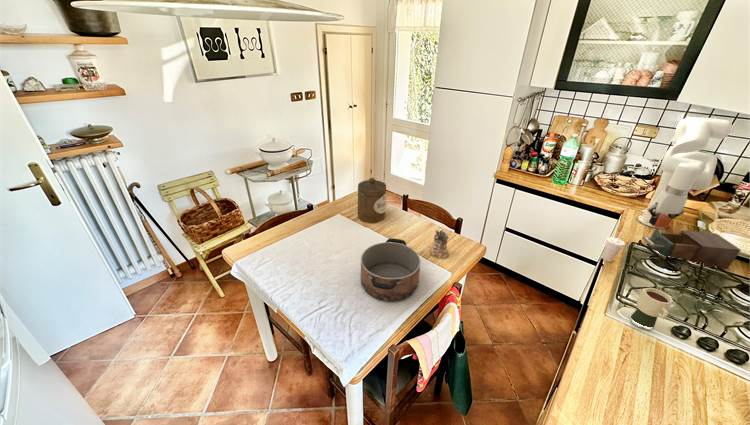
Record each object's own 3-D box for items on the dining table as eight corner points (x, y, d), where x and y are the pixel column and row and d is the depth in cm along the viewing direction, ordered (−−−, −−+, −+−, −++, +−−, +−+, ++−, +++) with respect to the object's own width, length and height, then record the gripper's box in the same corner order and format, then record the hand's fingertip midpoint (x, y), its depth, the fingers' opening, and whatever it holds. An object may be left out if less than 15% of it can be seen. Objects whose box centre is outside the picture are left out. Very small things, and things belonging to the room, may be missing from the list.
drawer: (649, 258, 133) (658, 243, 130) (634, 243, 143) (642, 229, 140) (695, 262, 131) (705, 247, 127) (676, 247, 141) (685, 233, 137)
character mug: (663, 338, 97) (684, 309, 91) (640, 336, 98) (659, 307, 91) (640, 312, 107) (657, 284, 101) (619, 310, 107) (635, 282, 101)
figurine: (447, 259, 132) (450, 236, 126) (430, 257, 133) (433, 234, 127) (446, 250, 138) (450, 227, 132) (431, 248, 139) (433, 225, 133)
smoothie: (618, 264, 130) (632, 237, 124) (602, 262, 131) (615, 235, 125) (611, 255, 136) (624, 229, 129) (596, 254, 137) (608, 227, 130)
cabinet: (690, 264, 131) (702, 246, 126) (670, 247, 142) (681, 230, 137) (727, 268, 129) (741, 249, 124) (704, 251, 140) (716, 233, 135)
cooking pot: (412, 315, 104) (415, 291, 99) (350, 303, 108) (349, 280, 103) (421, 262, 130) (424, 241, 124) (371, 254, 134) (371, 233, 129)
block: (648, 221, 149) (653, 213, 146) (660, 222, 148) (665, 213, 146) (655, 227, 145) (660, 218, 142) (667, 228, 144) (672, 219, 141)
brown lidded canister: (382, 224, 156) (383, 185, 146) (354, 221, 159) (353, 182, 149) (387, 211, 169) (389, 174, 158) (362, 208, 172) (361, 171, 161)
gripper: (692, 188, 139) (672, 221, 148) (650, 185, 142) (634, 219, 151) (704, 195, 133) (683, 230, 142) (660, 192, 135) (642, 227, 144)
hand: (658, 224), depth 146 cm, fingers closed on block, 5 cm apart
